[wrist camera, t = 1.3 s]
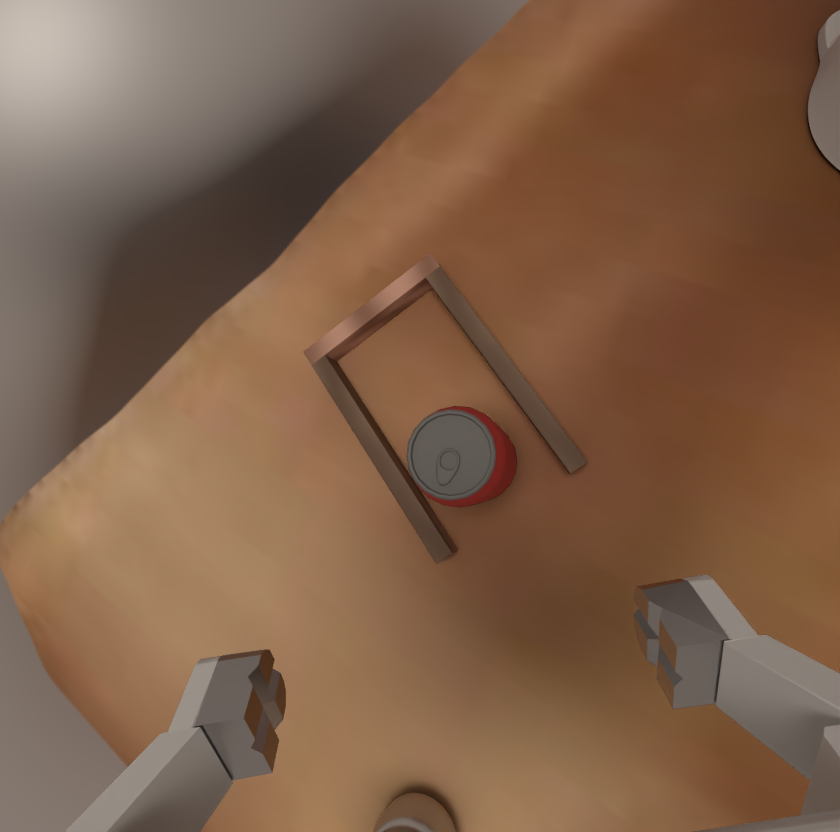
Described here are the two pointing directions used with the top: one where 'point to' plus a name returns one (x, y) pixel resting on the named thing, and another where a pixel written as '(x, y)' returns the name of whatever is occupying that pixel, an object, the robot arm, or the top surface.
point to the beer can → (460, 457)
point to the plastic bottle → (414, 815)
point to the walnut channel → (365, 427)
